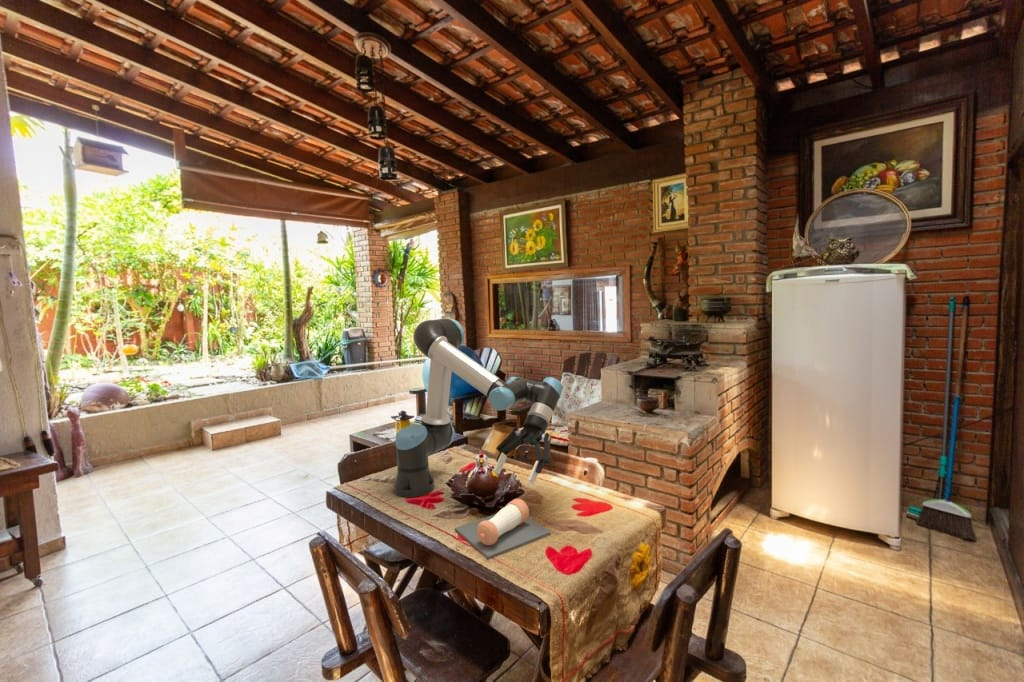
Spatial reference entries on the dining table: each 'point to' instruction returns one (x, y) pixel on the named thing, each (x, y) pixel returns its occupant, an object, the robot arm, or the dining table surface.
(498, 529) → the pepper shaker
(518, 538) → the slate mat
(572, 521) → the dining table surface
